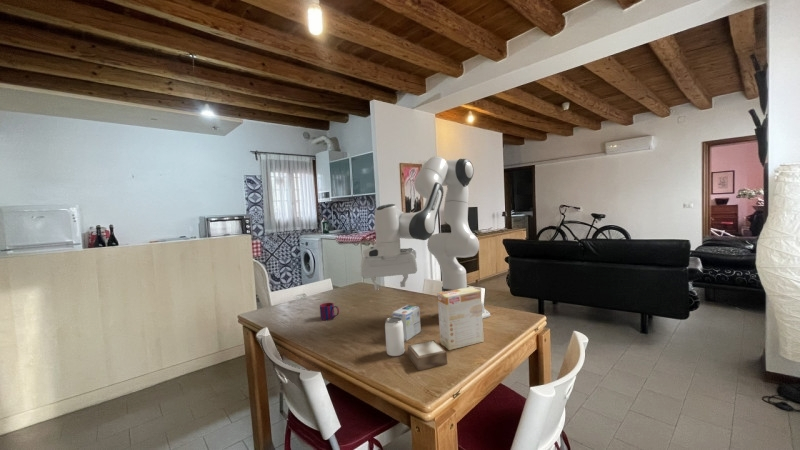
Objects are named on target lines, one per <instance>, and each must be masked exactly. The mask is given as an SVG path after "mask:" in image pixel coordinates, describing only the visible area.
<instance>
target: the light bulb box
mask: <svg viewBox="0 0 800 450" xmlns="http://www.w3.org/2000/svg"><path fill="white" fill-rule="evenodd" d="M391 315H392V317H399V318H401V321H402V323H403V332H404V342H407V341H409V340H410V339H412V338H413V337H415V336H416V335H418V334H419V333H421V331H422V329H421V313H420V306H416V305H410V304H405V305H403V306H402V307H400V308H398V309H396V310H394V311H392V314H391Z"/></svg>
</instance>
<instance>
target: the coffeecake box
mask: <svg viewBox="0 0 800 450" xmlns="http://www.w3.org/2000/svg"><path fill="white" fill-rule="evenodd" d="M481 292H482V291H481V290H480V289H479V288H478V289H477V288H475V287H473V286H469V287H467V288H462V289H456V290H451V291H445V292H442V291H440V292H437V309H438V323H439V324H438V325H439V336H440V338H439V339H440V344H441V346H443V347H445V348H446V349H447V350H449V351H452V350H456V349H459V348H463V347H464V348H465V347H467V346H471V345H475V344H480V343H483V342H484V340H485V339H484V337H485V336H484V325H483V319H482V305H481V301H482V293H481Z"/></svg>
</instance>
